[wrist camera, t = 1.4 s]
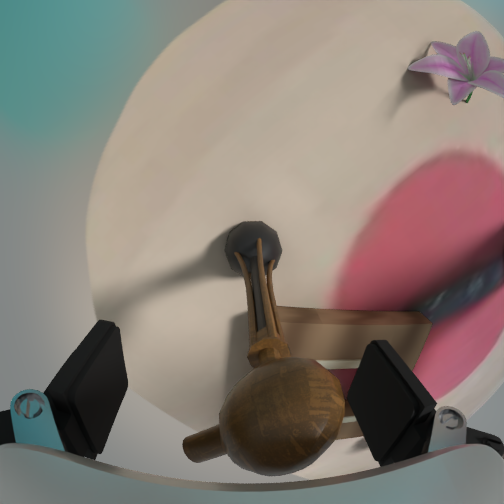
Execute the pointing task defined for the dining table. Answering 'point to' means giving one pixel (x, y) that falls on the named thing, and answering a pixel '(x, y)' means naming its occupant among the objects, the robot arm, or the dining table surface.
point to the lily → (464, 67)
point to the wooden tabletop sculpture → (270, 380)
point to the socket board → (351, 340)
